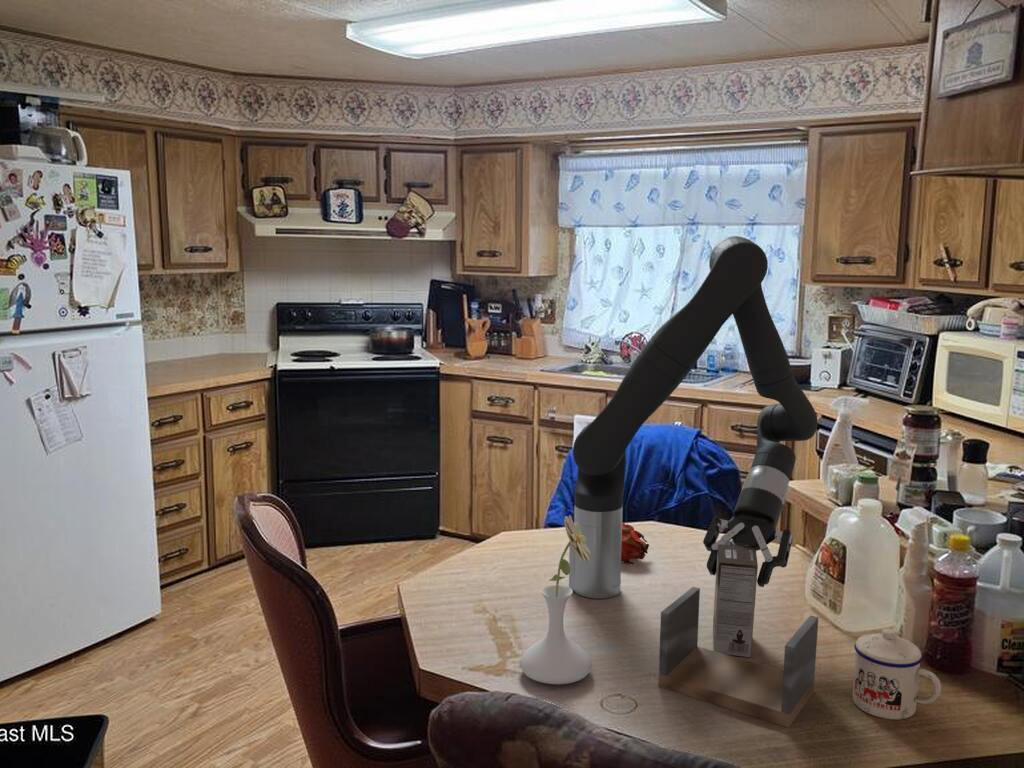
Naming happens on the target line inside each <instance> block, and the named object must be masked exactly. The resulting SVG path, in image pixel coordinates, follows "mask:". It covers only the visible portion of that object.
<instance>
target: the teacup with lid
mask: <svg viewBox="0 0 1024 768" xmlns="http://www.w3.org/2000/svg"><path fill="white" fill-rule="evenodd" d="M854 650H855V659H854V670H853V671H854V672H853V673H854V674H853V685H852V700H853V703H854V704H855V705H856V706H857V707H858V708H859V709H860V710H861V711H864V712H865V713H867V714H869V715H871V716H874V717H877V718H881V719H885V720H905V719H908V718H910V717H912V716H914V715H915V713H916V711H917V704H918V703H919V704H922V705H928V704H932V703H933V702H935V701H936V700H937V699H938V698H939V696H940V694H941V690H942V684H941V681H940V679H939V678H938V676H937V675H936V674H935V673H933V672H932V671H930V670H928V669H925V668H920V666H921V662H922V661H923V655H922V651H921V650H920V648H919V647H918V646H917V645H916V644H914V643H913V642H911V641H909V640H907V639H906V638H902V637H901V636H899V635H898V633H897V631H896V630H895V629H891V628H883V629H882V630H881V632H879V633H867V634H863V635H861V636H860V637H858V639H857V640H856V641H855V644H854ZM920 676H922V677H925V678H927V679H928V680H930V682H932V685H933V686H934V690H933V693H932V695H930V696H920V695H918V692H919V691H918V690H919V689H918V688H919V678H920Z"/></svg>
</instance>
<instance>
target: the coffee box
mask: <svg viewBox="0 0 1024 768" xmlns="http://www.w3.org/2000/svg"><path fill="white" fill-rule="evenodd" d="M758 568H759V564H758V556H757V551H756V549H755V547H749V546H737V545H722V544H718V552H717V567H716V574H715V585H714V598H713V599H714V601H713V602H714V603H713V618H712V619H713V620H712V651H715V652H719V653H723V654H726V655H730V656H734V657H737V656H738V657H744V658H745V657H746V658H751V657H752V648H753V647H752V644H753V633H754V622H755V621H754V620H755V606H756V595H757V585H758V583H757V579H758Z"/></svg>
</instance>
